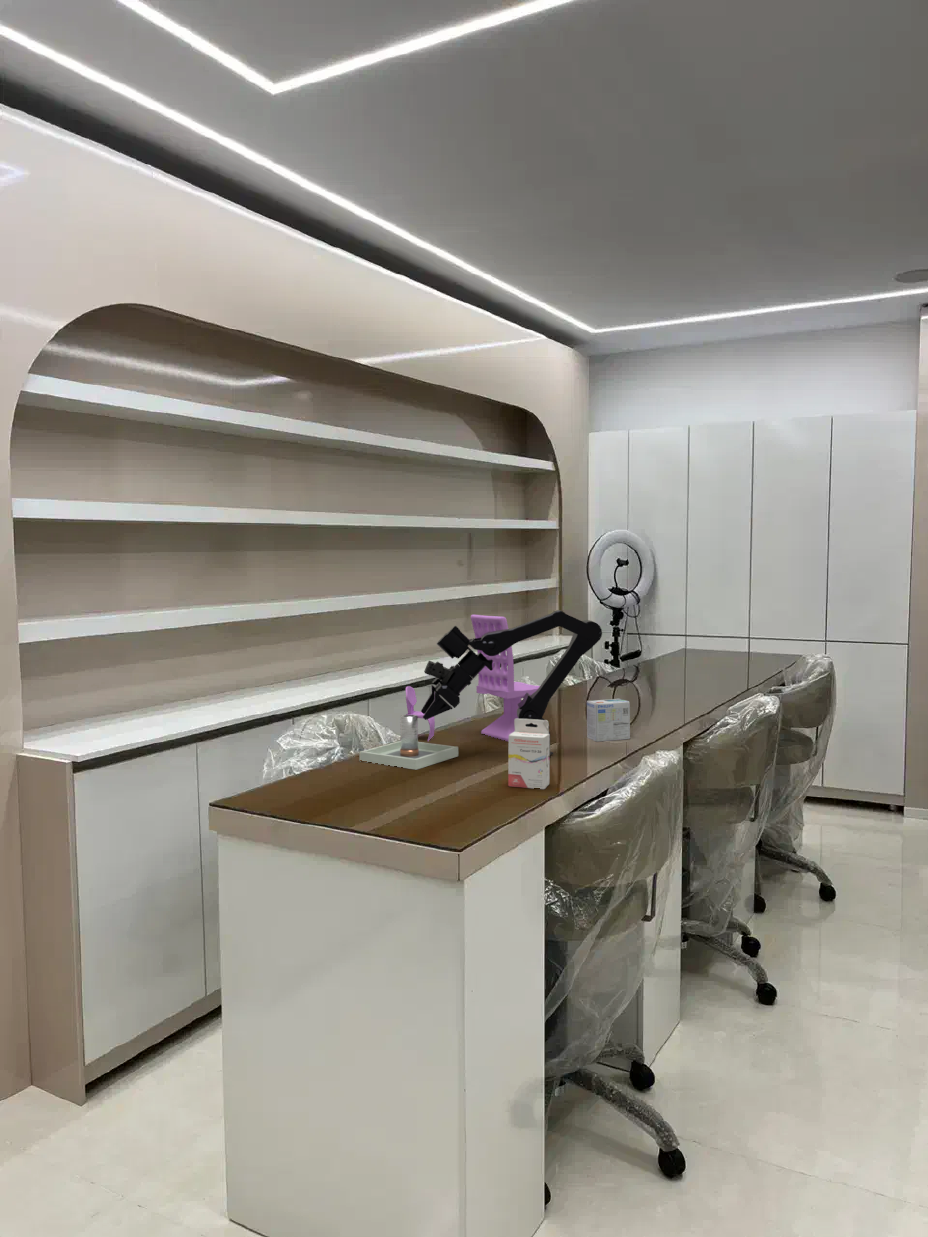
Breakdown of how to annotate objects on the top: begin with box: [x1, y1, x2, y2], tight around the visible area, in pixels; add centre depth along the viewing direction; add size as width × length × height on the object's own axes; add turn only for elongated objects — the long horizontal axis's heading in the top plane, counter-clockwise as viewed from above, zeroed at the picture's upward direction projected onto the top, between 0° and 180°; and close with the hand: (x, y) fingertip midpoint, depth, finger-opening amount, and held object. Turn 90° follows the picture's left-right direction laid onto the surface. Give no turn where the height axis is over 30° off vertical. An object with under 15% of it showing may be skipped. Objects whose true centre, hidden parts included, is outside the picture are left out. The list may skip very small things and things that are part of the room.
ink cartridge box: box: [507, 718, 551, 790], centre depth 202 cm, size 9×5×15 cm, turn 71°
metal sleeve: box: [399, 714, 419, 757], centre depth 231 cm, size 5×5×10 cm
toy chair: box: [399, 685, 436, 742], centre depth 257 cm, size 8×9×15 cm
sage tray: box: [358, 740, 459, 771], centre depth 231 cm, size 18×18×2 cm
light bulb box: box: [586, 698, 631, 743], centre depth 254 cm, size 11×7×11 cm, turn 108°
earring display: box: [470, 614, 541, 743], centre depth 259 cm, size 15×17×35 cm
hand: (423, 715), depth 231 cm, fingers open, 9 cm apart
